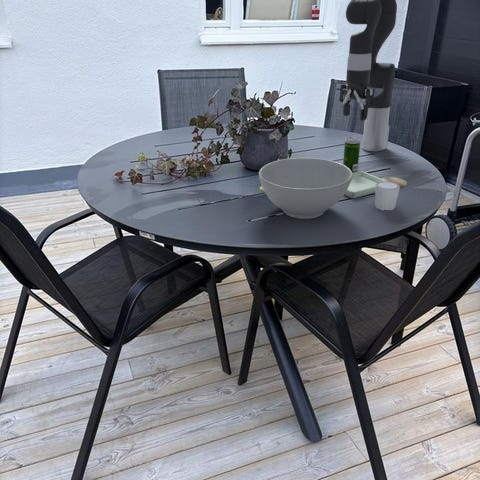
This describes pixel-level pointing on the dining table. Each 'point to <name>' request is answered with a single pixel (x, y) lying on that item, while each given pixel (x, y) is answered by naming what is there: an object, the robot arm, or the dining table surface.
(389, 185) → the white cup
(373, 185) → the tray
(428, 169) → the dining table surface
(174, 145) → the dining table surface
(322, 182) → the decorative bowl
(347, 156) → the beer can
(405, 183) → the oak coaster
